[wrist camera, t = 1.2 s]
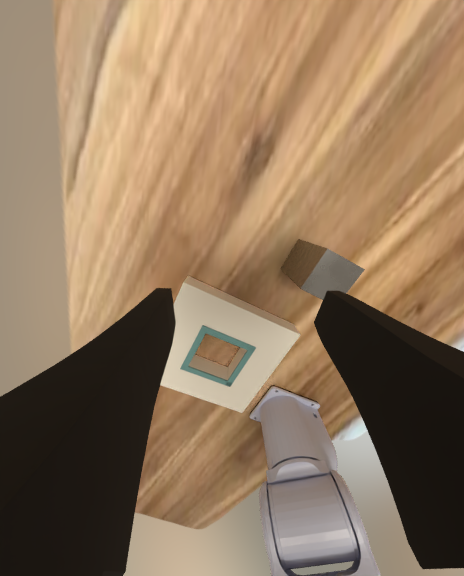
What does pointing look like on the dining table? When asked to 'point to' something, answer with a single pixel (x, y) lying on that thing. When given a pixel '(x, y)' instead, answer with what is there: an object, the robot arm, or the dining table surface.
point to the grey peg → (320, 269)
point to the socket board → (231, 328)
